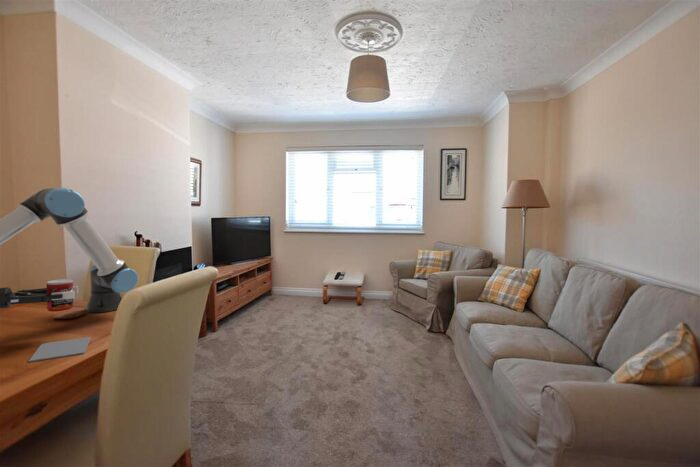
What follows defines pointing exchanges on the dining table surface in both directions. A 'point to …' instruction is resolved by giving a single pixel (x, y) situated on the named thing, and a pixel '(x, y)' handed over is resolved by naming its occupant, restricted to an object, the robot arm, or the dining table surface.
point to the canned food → (59, 286)
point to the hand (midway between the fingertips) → (76, 292)
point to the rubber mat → (60, 349)
